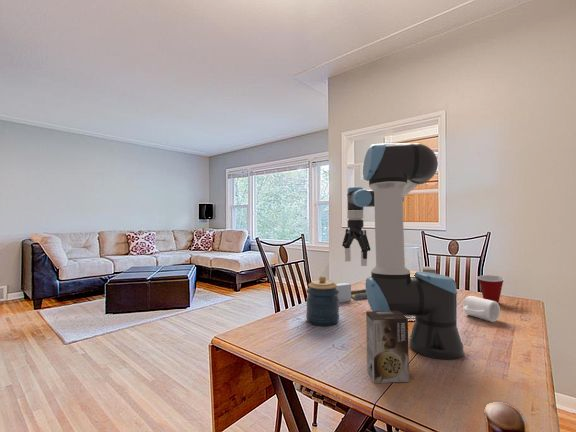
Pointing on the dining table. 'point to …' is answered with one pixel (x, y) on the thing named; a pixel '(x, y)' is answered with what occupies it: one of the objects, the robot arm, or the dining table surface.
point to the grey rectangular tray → (359, 294)
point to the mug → (481, 308)
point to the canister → (322, 302)
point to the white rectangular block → (344, 292)
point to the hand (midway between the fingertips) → (355, 263)
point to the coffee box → (387, 346)
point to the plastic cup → (491, 287)
